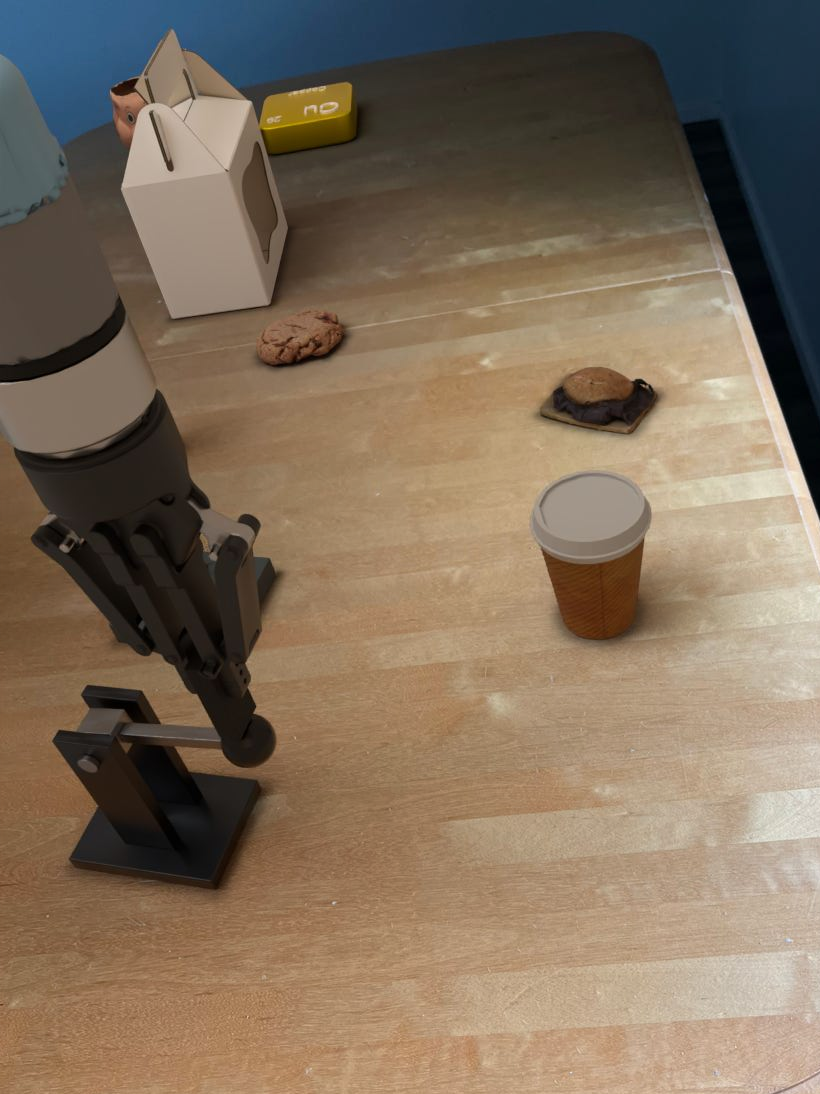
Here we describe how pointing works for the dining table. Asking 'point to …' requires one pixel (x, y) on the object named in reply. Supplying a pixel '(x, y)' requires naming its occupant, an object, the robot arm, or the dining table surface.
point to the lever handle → (185, 736)
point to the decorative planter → (126, 109)
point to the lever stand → (152, 803)
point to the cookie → (299, 336)
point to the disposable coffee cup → (593, 548)
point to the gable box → (202, 188)
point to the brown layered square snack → (600, 400)
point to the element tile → (309, 118)
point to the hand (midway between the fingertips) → (238, 721)
